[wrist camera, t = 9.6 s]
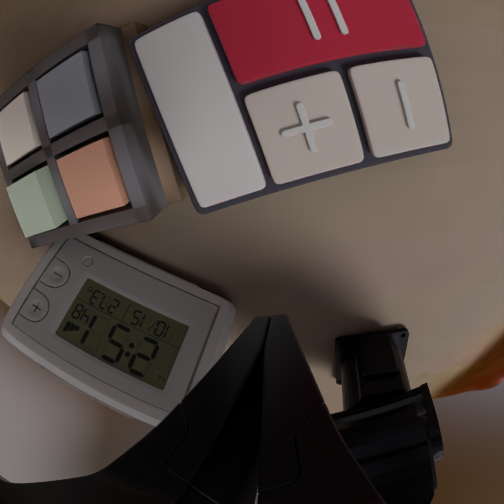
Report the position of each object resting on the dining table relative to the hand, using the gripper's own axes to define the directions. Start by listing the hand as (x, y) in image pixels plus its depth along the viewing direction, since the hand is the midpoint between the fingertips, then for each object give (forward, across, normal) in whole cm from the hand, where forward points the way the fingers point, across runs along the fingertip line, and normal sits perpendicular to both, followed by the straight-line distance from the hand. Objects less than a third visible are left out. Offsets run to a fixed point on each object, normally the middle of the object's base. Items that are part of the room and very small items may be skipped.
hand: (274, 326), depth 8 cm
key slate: (+10, +10, -10) cm, 17 cm away
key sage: (+9, +16, -4) cm, 19 cm away
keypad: (+12, +13, -7) cm, 19 cm away
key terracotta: (+10, +11, -4) cm, 15 cm away
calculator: (+12, -2, -7) cm, 14 cm away
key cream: (+10, +16, -10) cm, 21 cm away
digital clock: (+12, +13, +5) cm, 19 cm away
